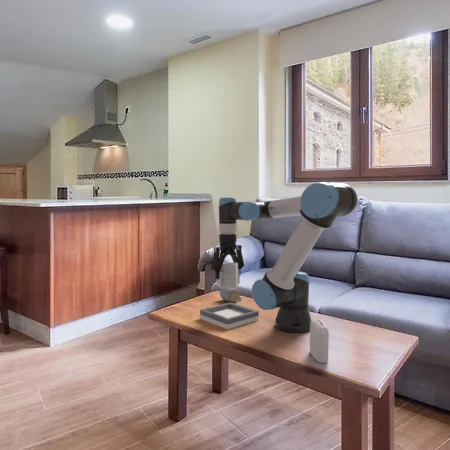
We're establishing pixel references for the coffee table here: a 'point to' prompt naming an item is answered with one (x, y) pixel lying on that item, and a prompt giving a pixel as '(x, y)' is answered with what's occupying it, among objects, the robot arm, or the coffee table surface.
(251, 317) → the square gray-rimmed holder
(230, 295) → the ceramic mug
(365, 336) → the coffee table surface
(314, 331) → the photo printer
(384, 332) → the coffee table surface
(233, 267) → the small box
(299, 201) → the robot arm
